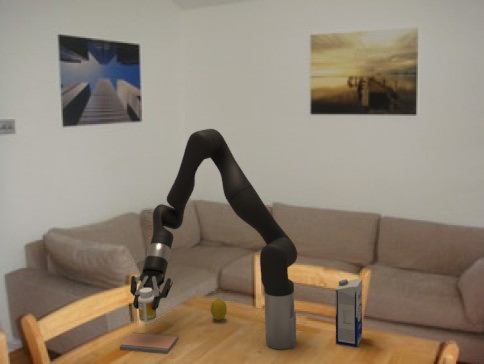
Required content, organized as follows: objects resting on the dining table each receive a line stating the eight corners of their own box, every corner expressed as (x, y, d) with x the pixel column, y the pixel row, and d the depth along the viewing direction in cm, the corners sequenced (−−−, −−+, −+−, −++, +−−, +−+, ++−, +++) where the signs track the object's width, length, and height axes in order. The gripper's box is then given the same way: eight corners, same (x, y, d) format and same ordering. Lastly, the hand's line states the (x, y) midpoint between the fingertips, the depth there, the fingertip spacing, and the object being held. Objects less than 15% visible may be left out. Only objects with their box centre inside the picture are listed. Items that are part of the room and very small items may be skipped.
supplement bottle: (158, 315, 178) (156, 286, 176) (154, 322, 173) (152, 293, 171) (141, 315, 179) (139, 286, 177) (137, 322, 173) (135, 293, 171)
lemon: (209, 318, 195) (208, 296, 193) (224, 315, 196) (223, 294, 195) (213, 324, 189) (212, 302, 188) (229, 322, 191) (228, 300, 190)
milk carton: (357, 347, 169) (357, 285, 166) (335, 344, 172) (335, 283, 169) (362, 337, 176) (362, 278, 172) (341, 334, 179) (341, 275, 175)
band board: (178, 338, 180) (178, 335, 180) (167, 353, 170) (167, 350, 170) (133, 335, 184) (133, 331, 184) (119, 349, 174) (119, 345, 174)
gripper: (133, 253, 181) (119, 302, 172) (174, 255, 177) (162, 305, 168) (140, 263, 187) (128, 311, 178) (180, 266, 183) (169, 314, 174)
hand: (144, 308), depth 173 cm, fingers closed on supplement bottle, 5 cm apart
